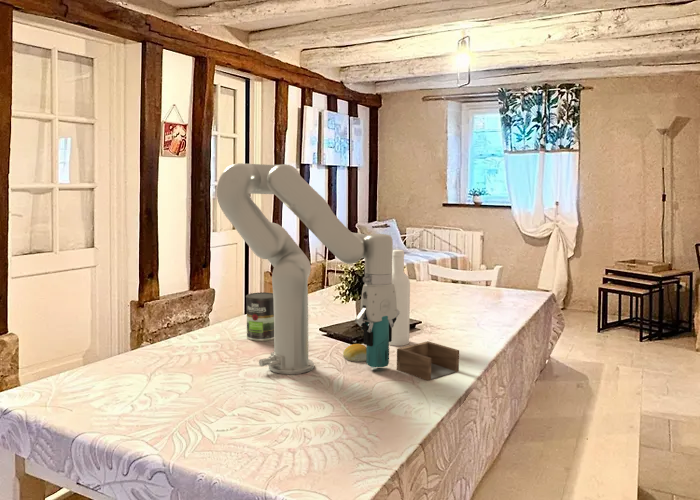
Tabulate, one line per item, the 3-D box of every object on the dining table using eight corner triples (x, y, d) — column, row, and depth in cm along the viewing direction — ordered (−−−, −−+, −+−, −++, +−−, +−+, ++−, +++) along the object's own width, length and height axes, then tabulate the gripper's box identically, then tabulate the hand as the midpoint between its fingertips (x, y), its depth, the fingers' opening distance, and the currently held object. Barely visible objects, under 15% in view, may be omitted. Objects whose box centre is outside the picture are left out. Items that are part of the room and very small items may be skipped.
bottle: (380, 343, 201) (381, 250, 197) (390, 338, 207) (391, 248, 204) (403, 347, 197) (405, 252, 193) (413, 341, 204) (414, 249, 200)
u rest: (427, 380, 166) (428, 358, 165) (396, 369, 175) (397, 348, 174) (458, 371, 174) (459, 350, 173) (427, 361, 183) (427, 341, 182)
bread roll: (366, 352, 192) (366, 340, 191) (374, 361, 183) (374, 348, 183) (340, 354, 190) (340, 341, 189) (346, 363, 181) (346, 349, 181)
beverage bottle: (387, 373, 171) (388, 301, 169) (363, 372, 173) (364, 300, 170) (390, 366, 178) (391, 297, 175) (367, 364, 179) (368, 296, 177)
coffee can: (269, 342, 202) (269, 299, 200) (240, 339, 205) (240, 297, 203) (283, 334, 211) (282, 293, 210) (255, 331, 215) (255, 291, 213)
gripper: (363, 284, 164) (363, 351, 166) (410, 277, 175) (409, 340, 177) (345, 280, 169) (345, 345, 172) (391, 274, 180) (391, 335, 183)
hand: (377, 342), depth 174 cm, fingers closed on beverage bottle, 6 cm apart
